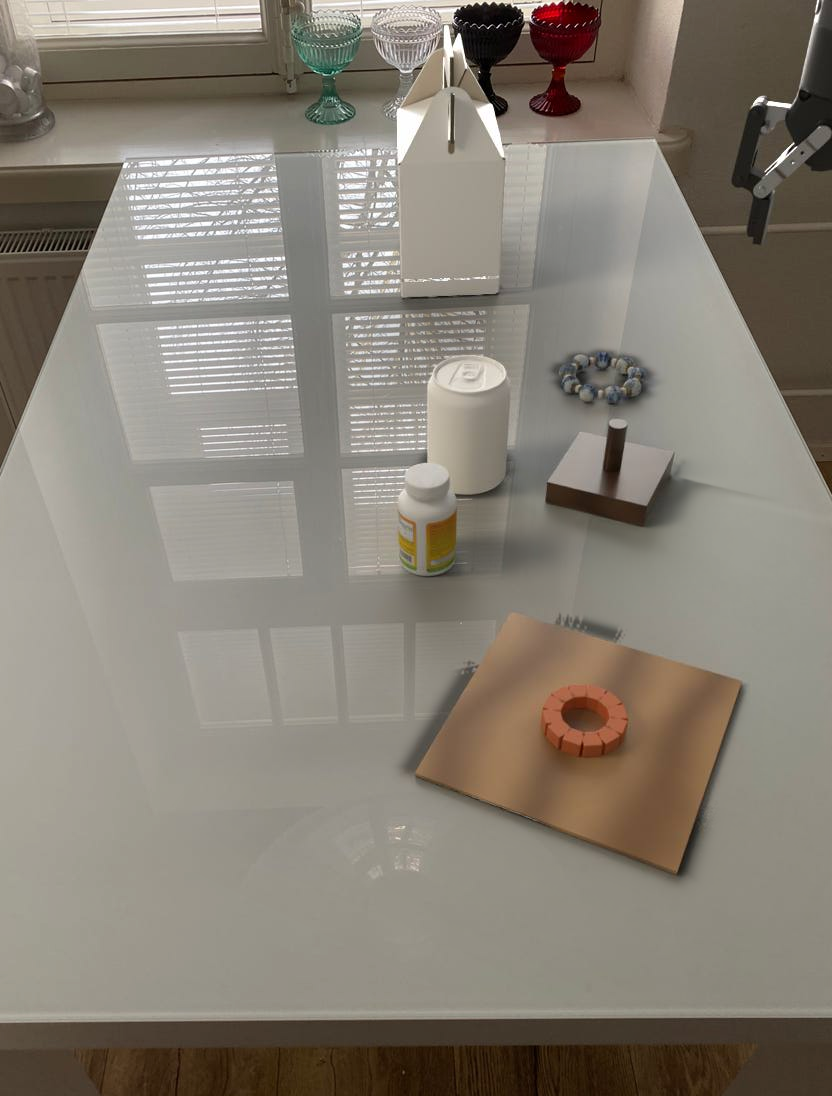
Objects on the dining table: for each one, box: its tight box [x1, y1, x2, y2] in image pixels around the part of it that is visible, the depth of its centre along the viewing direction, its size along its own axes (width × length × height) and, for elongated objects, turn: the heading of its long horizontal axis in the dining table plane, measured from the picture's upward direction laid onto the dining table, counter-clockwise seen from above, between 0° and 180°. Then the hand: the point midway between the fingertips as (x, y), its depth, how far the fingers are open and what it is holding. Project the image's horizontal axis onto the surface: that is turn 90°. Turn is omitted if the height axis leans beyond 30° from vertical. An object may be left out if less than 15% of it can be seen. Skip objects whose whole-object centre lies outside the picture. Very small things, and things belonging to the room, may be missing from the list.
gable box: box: [396, 25, 507, 297], centre depth 132 cm, size 22×13×28 cm, turn 179°
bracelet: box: [558, 351, 646, 404], centre depth 115 cm, size 10×10×2 cm
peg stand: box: [544, 418, 676, 528], centre depth 98 cm, size 10×10×8 cm
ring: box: [541, 684, 628, 757], centre depth 78 cm, size 6×6×1 cm
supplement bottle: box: [397, 462, 458, 577], centre depth 91 cm, size 5×5×10 cm
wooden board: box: [414, 611, 743, 876], centre depth 78 cm, size 20×20×1 cm
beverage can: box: [426, 354, 512, 496], centre depth 100 cm, size 8×8×12 cm
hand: (813, 248), depth 79 cm, fingers open, 8 cm apart
